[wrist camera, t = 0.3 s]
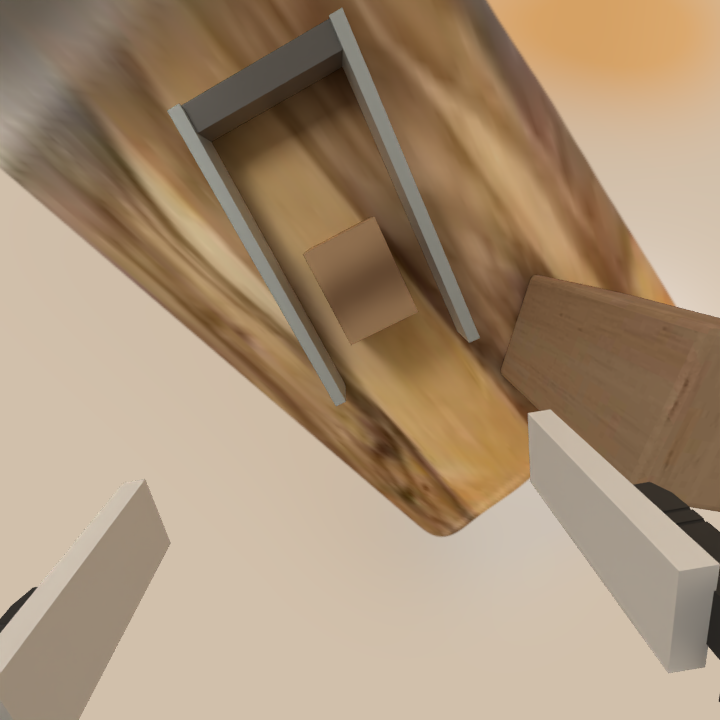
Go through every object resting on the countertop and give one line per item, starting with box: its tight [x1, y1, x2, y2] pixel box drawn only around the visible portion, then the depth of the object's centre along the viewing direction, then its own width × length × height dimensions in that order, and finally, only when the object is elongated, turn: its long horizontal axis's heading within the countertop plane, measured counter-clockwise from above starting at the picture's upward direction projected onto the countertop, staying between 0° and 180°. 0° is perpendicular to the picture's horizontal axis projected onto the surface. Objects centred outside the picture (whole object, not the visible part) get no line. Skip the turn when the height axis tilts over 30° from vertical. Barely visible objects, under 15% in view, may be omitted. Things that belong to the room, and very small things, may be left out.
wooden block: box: [501, 275, 720, 512], centre depth 31 cm, size 10×10×20 cm
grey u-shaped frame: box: [167, 8, 480, 406], centre depth 35 cm, size 26×14×4 cm, turn 26°
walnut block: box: [303, 217, 418, 345], centre depth 35 cm, size 8×6×6 cm
